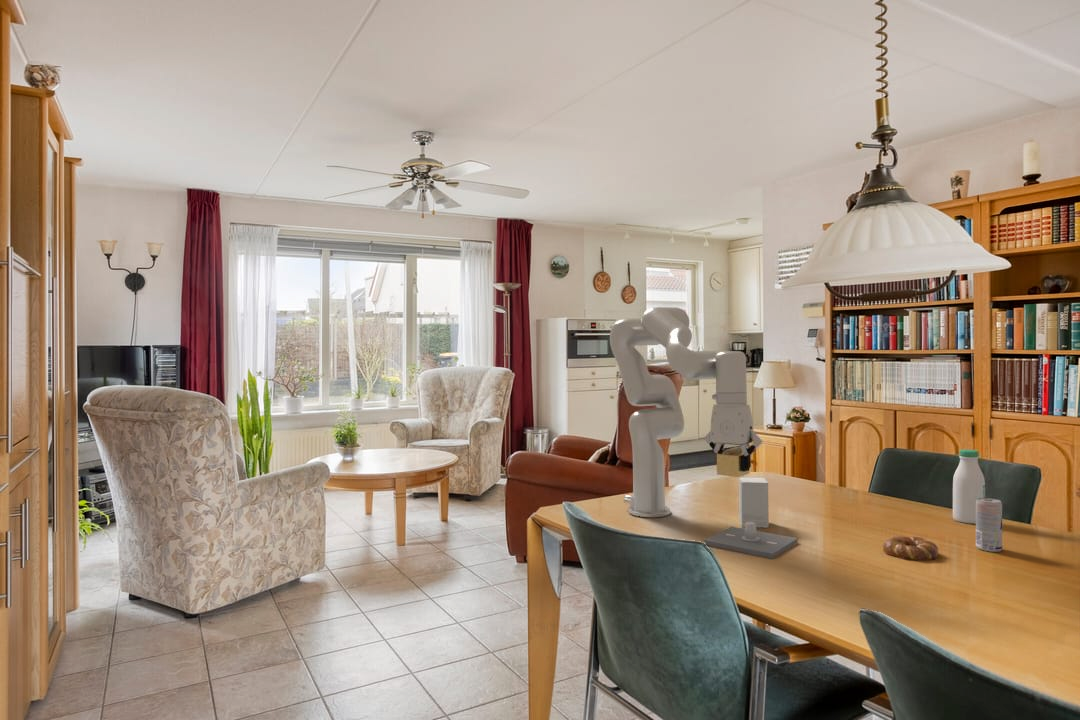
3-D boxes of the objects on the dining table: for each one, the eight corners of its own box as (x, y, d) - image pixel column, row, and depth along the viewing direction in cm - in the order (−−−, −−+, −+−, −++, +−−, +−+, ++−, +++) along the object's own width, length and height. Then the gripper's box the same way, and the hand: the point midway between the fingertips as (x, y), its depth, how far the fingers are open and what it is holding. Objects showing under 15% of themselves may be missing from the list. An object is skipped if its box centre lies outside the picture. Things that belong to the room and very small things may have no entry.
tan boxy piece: (738, 477, 166) (737, 451, 166) (716, 474, 171) (715, 449, 170) (750, 473, 172) (749, 447, 171) (728, 470, 176) (728, 445, 175)
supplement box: (769, 528, 184) (768, 482, 184) (741, 527, 186) (740, 482, 185) (765, 521, 191) (765, 477, 191) (738, 520, 193) (738, 476, 193)
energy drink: (1001, 547, 164) (1001, 499, 163) (1003, 553, 159) (1003, 503, 159) (975, 544, 166) (975, 496, 166) (976, 550, 162) (976, 501, 161)
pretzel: (891, 561, 156) (890, 546, 156) (876, 547, 167) (876, 532, 167) (947, 563, 154) (946, 547, 154) (929, 548, 165) (928, 533, 164)
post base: (703, 544, 170) (703, 524, 170) (731, 530, 182) (731, 511, 182) (772, 558, 158) (772, 537, 158) (797, 542, 170) (797, 522, 170)
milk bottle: (979, 526, 182) (979, 453, 182) (948, 520, 188) (948, 450, 187) (989, 521, 187) (989, 450, 186) (958, 515, 193) (958, 447, 192)
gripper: (694, 399, 174) (695, 468, 174) (757, 401, 162) (759, 475, 162) (708, 397, 179) (710, 464, 180) (770, 399, 168) (772, 470, 168)
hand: (733, 468), depth 171 cm, fingers closed on tan boxy piece, 6 cm apart
